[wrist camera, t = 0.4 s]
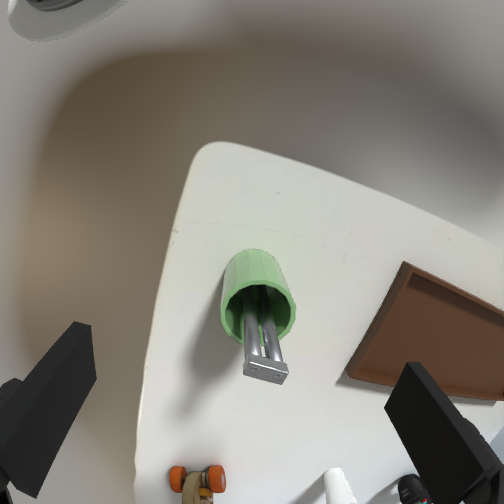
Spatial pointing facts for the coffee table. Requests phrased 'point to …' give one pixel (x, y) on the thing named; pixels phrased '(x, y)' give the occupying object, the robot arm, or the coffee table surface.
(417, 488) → the controller
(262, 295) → the bolted metal rod
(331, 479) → the cup
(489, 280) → the coffee table surface
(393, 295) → the tray
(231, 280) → the green cup
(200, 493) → the toy helicopter
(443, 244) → the coffee table surface
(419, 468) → the robot arm
